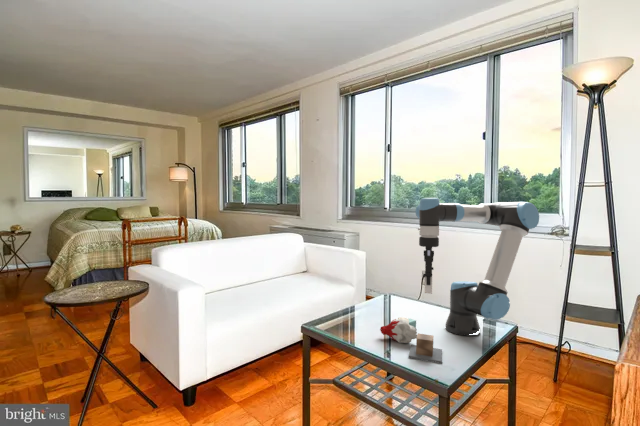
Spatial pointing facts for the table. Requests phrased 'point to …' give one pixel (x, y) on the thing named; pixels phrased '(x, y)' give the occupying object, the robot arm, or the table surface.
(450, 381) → the table surface
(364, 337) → the table surface
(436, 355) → the mat
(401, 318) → the cream capsule cylinder
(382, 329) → the white two-tone toothed figurine
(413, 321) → the teal block
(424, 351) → the walnut cube
